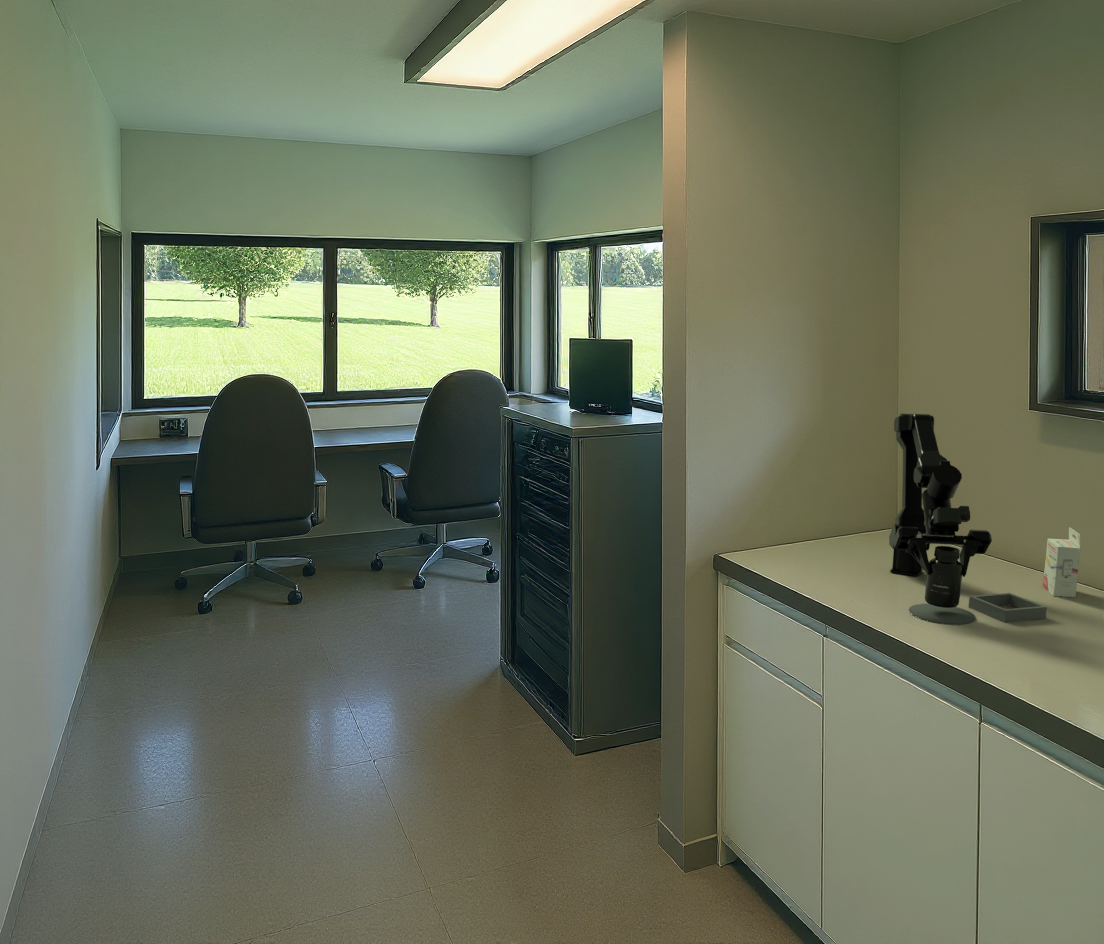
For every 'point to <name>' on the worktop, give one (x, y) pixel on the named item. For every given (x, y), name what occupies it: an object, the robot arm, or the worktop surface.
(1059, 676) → the worktop surface
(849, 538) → the worktop surface
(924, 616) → the rubber mat
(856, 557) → the worktop surface
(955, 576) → the supplement bottle
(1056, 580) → the ink cartridge box
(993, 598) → the square grey tray
